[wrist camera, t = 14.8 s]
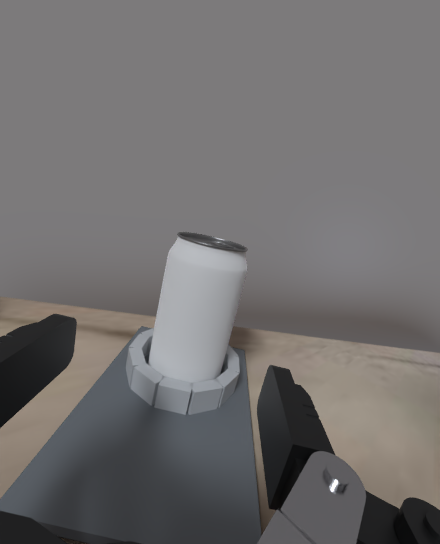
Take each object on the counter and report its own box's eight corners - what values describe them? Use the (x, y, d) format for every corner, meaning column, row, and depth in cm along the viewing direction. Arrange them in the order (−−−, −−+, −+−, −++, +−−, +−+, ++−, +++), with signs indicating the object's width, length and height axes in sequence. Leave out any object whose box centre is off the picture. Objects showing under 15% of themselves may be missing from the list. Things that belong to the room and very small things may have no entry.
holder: (243, 354, 28) (248, 335, 28) (261, 582, 11) (277, 542, 10) (140, 330, 28) (144, 310, 28) (-10, 520, 11) (-9, 476, 10)
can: (135, 357, 22) (157, 226, 20) (194, 345, 27) (219, 236, 24) (168, 408, 18) (203, 247, 15) (233, 384, 22) (269, 254, 19)
